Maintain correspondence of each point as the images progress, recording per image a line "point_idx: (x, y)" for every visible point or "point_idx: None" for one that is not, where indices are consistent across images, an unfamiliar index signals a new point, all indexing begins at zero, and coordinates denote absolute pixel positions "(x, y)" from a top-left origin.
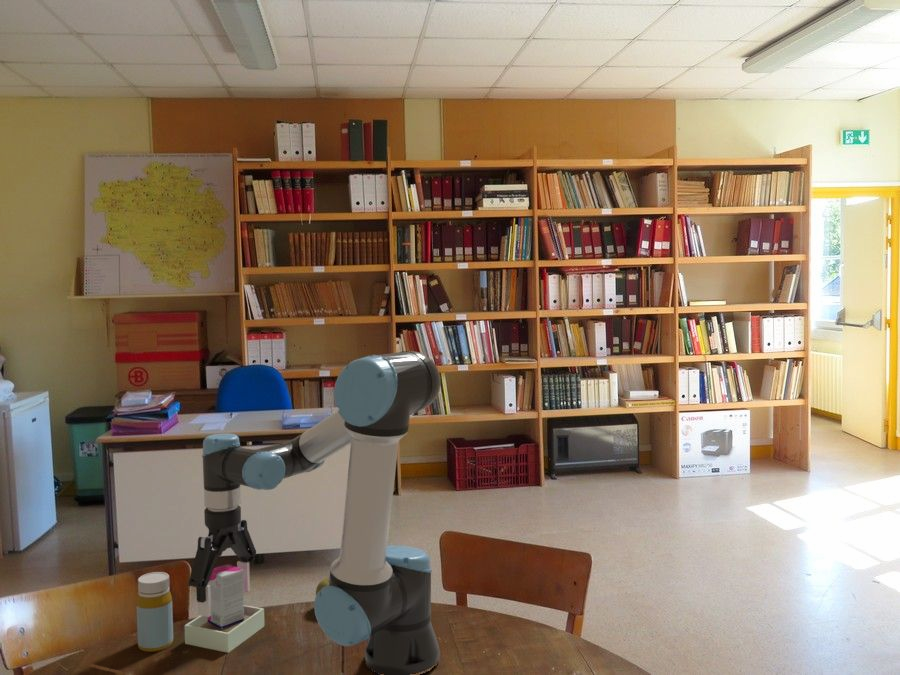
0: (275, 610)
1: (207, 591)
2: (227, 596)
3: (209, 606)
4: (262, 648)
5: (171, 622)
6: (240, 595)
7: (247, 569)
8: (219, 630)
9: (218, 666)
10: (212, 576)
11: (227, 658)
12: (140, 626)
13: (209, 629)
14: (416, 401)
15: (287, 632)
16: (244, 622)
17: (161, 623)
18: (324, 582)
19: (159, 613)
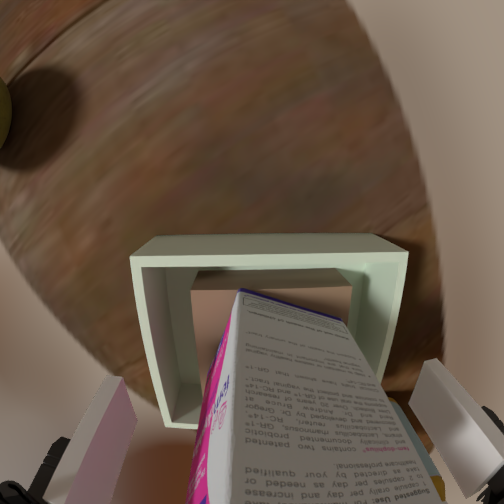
0: (51, 279)
1: (499, 435)
2: (361, 401)
3: (455, 385)
4: (294, 147)
5: None
6: (263, 368)
7: (75, 473)
8: (347, 320)
9: (429, 219)
10: None
11: (388, 222)
12: None
13: (387, 339)
14: None
15: (151, 136)
16: (295, 253)
17: (415, 441)
18: None
19: (429, 462)
